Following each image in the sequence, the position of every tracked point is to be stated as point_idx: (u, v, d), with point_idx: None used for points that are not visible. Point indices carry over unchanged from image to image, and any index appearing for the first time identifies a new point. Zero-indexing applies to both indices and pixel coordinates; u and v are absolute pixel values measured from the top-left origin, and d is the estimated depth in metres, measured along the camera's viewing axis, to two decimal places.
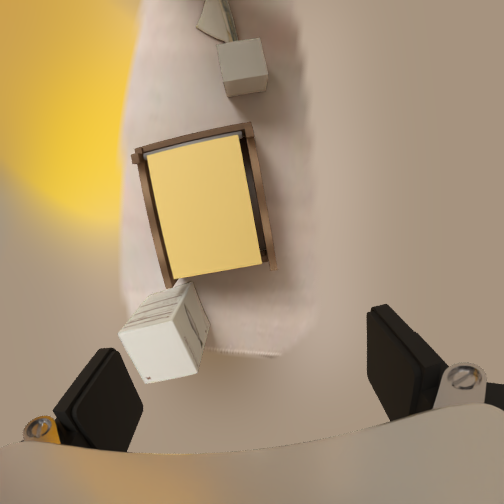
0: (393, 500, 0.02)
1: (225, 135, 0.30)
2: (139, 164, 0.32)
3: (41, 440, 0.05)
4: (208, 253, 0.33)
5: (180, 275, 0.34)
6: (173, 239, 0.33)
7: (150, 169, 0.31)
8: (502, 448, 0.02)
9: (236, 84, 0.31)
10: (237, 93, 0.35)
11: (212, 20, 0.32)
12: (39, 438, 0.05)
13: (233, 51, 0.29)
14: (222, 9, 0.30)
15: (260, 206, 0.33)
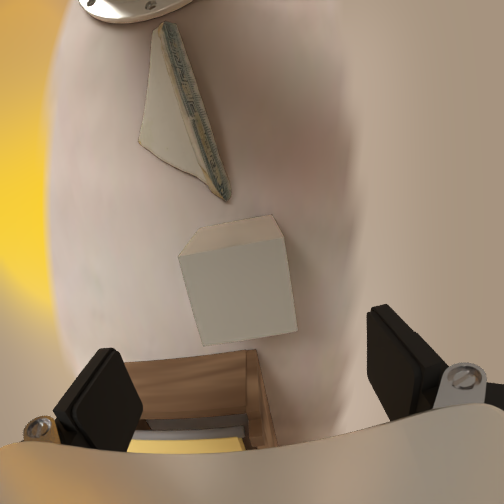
0: (393, 500, 0.02)
1: (216, 436, 0.16)
2: None
3: (41, 440, 0.05)
4: None
5: None
6: None
7: None
8: (502, 448, 0.02)
9: None
10: None
11: (167, 127, 0.18)
12: (39, 438, 0.05)
13: (219, 276, 0.15)
14: (182, 111, 0.16)
15: None
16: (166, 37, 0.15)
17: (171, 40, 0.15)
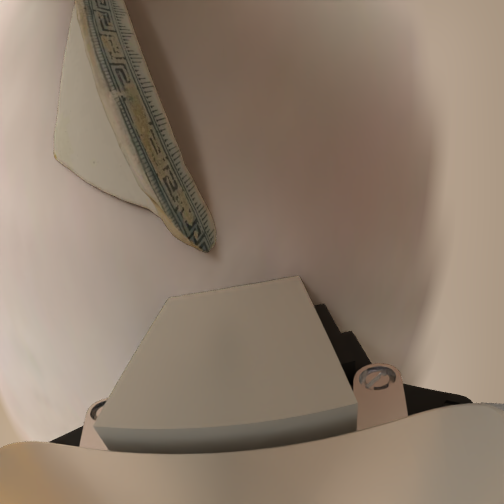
0: (393, 500, 0.02)
1: None
2: None
3: None
4: None
5: None
6: None
7: None
8: (502, 448, 0.02)
9: None
10: None
11: (90, 124, 0.09)
12: None
13: None
14: (98, 82, 0.07)
15: None
16: None
17: None
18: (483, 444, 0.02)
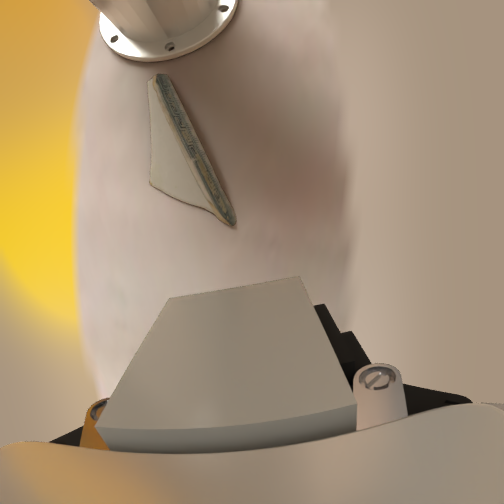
0: (393, 500, 0.02)
1: None
2: None
3: None
4: None
5: None
6: None
7: None
8: (502, 448, 0.02)
9: None
10: None
11: (173, 169, 0.22)
12: None
13: None
14: (185, 154, 0.20)
15: None
16: (161, 90, 0.19)
17: (165, 92, 0.19)
18: (483, 444, 0.02)
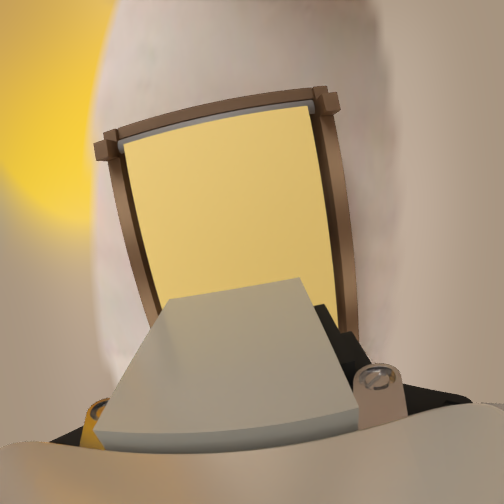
0: (393, 500, 0.02)
1: (282, 106, 0.15)
2: (111, 161, 0.16)
3: None
4: None
5: None
6: None
7: (130, 171, 0.15)
8: (502, 448, 0.02)
9: None
10: None
11: None
12: None
13: None
14: None
15: (342, 245, 0.17)
16: None
17: None
18: (483, 444, 0.02)
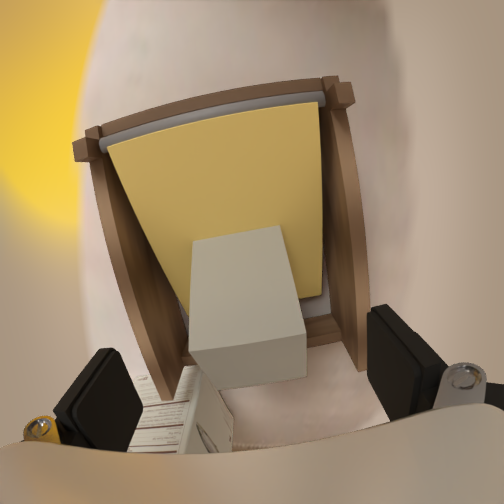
0: (393, 500, 0.02)
1: (288, 101, 0.12)
2: (93, 162, 0.14)
3: (41, 440, 0.05)
4: None
5: None
6: (183, 277, 0.19)
7: (120, 174, 0.14)
8: (502, 448, 0.02)
9: None
10: None
11: None
12: (39, 438, 0.05)
13: (234, 359, 0.13)
14: None
15: (355, 257, 0.15)
16: None
17: None
18: (483, 444, 0.02)
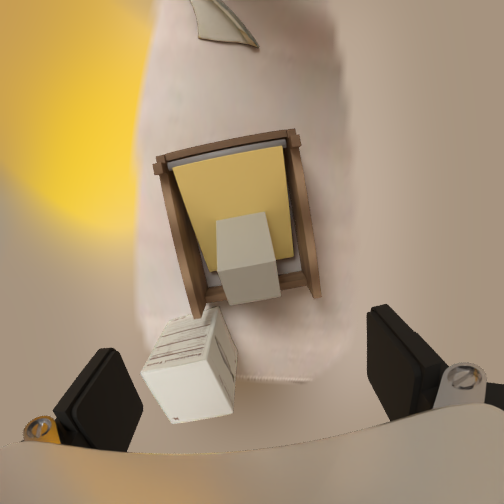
0: (393, 500, 0.02)
1: (267, 145, 0.26)
2: (161, 175, 0.27)
3: (41, 440, 0.05)
4: None
5: (215, 268, 0.36)
6: (208, 242, 0.33)
7: (178, 182, 0.28)
8: (502, 448, 0.02)
9: None
10: None
11: (214, 24, 0.29)
12: (39, 438, 0.05)
13: (240, 278, 0.27)
14: (222, 8, 0.26)
15: (305, 227, 0.29)
16: None
17: None
18: (483, 444, 0.02)
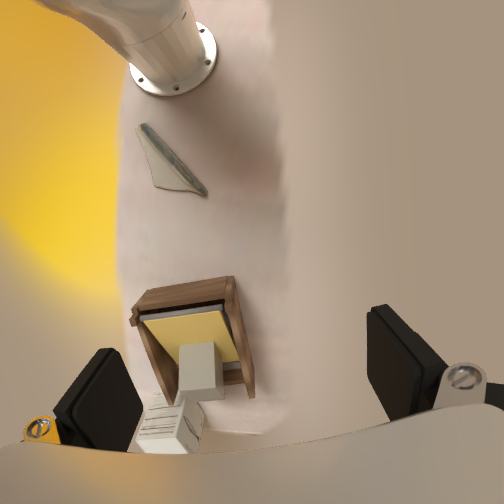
0: (393, 500, 0.02)
1: (208, 310, 0.36)
2: None
3: (41, 440, 0.05)
4: None
5: None
6: (176, 354, 0.43)
7: (149, 328, 0.38)
8: (502, 448, 0.02)
9: None
10: None
11: (165, 173, 0.39)
12: (39, 438, 0.05)
13: (194, 393, 0.37)
14: (169, 164, 0.37)
15: (240, 358, 0.39)
16: (145, 133, 0.36)
17: (148, 133, 0.36)
18: (483, 444, 0.02)
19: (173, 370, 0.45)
